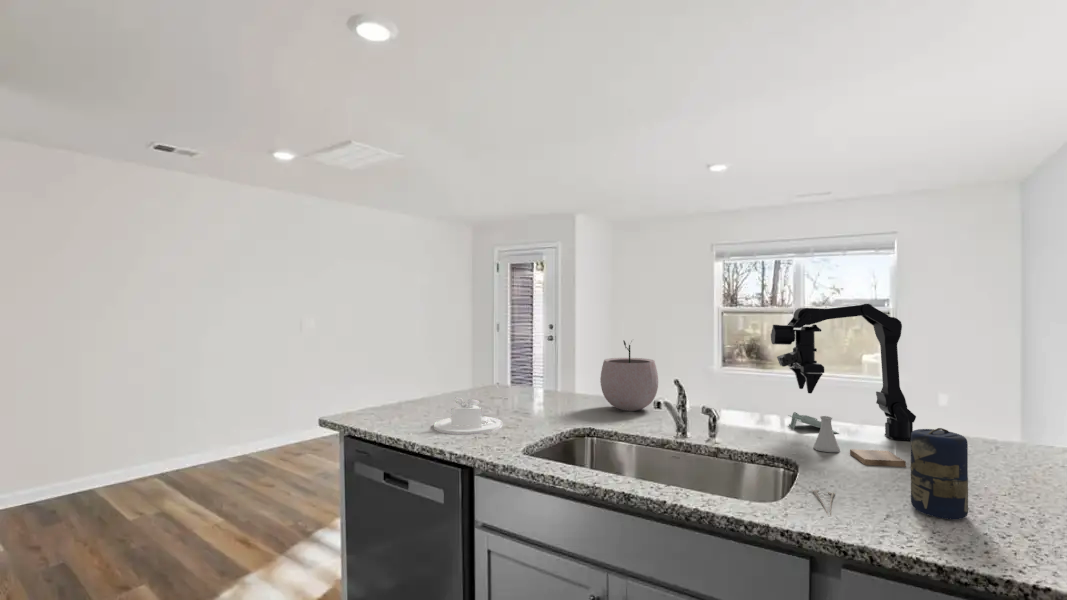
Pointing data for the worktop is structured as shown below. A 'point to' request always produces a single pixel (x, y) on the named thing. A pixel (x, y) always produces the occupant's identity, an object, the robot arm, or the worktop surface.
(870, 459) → the walnut board
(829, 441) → the flask
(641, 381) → the plant pot
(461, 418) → the dish
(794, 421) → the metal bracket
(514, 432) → the worktop surface
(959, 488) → the canister
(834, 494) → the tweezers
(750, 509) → the worktop surface
